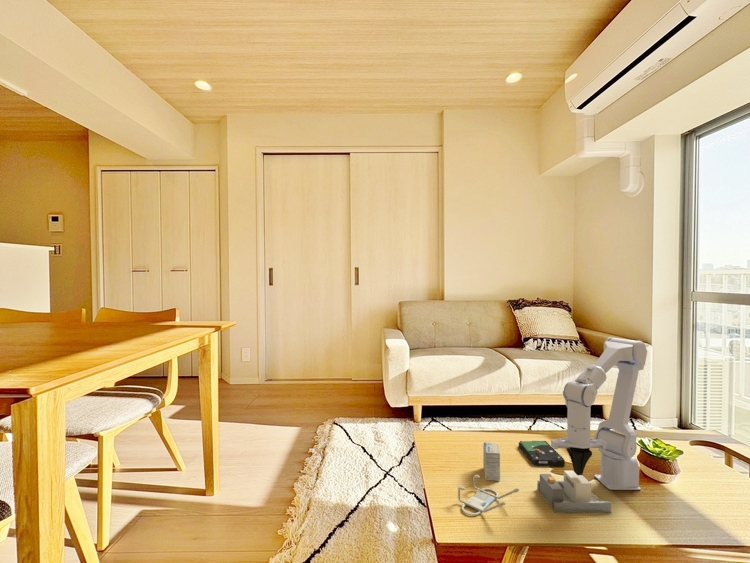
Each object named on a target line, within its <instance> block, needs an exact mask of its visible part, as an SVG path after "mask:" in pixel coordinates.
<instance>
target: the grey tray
mask: <svg viewBox="0 0 750 563" xmlns="http://www.w3.org/2000/svg"><path fill="white" fill-rule="evenodd" d="M556 481H557V482H558V483H559V485H560V486H561V487H562V488H563V484H564V480H556ZM536 484H537V486H536V488H537V489H536V490H537V491H538V492H539V493H540V495H541V496H542V497H543V499H544V500H545V501H546V503H547V504H548V505H549V507H550V509H552V510H553V513H559V514H560V513H561V514H562V513H565V514H566V513H569V514H570V513H571V514H574V513H576V514H577V513H579V514H580V513H582V514H583V513H584V514H585V513H588V514H589V513H590V514H591V513H593V514H594V513H599V514H601V513H602V514H603V513H606V514H608V513H609V514H610V513H611V514H612V502H611V501H609V500H602V501H601V500H600V498H598V496H596V495H595V494H594V492H592V491H591V501H572V500H571V499H570V498H569V497H568V496H567V494H566V493H565V492H564V497H563V501H554V507H552V506H551V505H550V504H549V503H548V501H547V500H546V499H545V497H544V496H543V495H542V493H541V492H540V480H537V483H536Z"/></svg>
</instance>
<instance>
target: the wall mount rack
mask: <svg viewBox="0 0 750 563" xmlns="http://www.w3.org/2000/svg"><path fill="white" fill-rule="evenodd" d="M480 478H481V477H480V475H479V474H474V475H473V478H472V483H473V488H474V489H476V490H477V492H476V493H474V495H472V496H471V497H470V498H469V499H468V500H466V501H465V500H464V499H461V491H465V490H466V488H465V487H464V486H459V487H458V489H457V499H458V501H459V502H460V503H462V505H461V511H462V512H463V513H464V514H466V515H468V516H472V517H476V516H479V515H480V514H481V513H488V512H490V511H492V510H494V509H496V508H500V507H503V506H506V501H501V502H499V503H498V504H495V505H493V506H491V505H492V504H493V503H494V502H495V501H496V499H497V500H502V499H503V498H505V497H507V496H509V495H512V494H515V493H517V492H519V491H520V489H519V487H517V488H514V489H512V490H511V491H508V492H507V493H504V494H502V495H500V496H499V493H498V491H497V490H494V489H493V488H489V487H485V488H484V487H483V488H479V487H477V486H476V479H480ZM488 491H491V492H493V493H494V494H492V493H491V492H488ZM466 506H467V507H468V508H471V509H473V510H476V511H477V512H468V511H466V510H465V507H466ZM490 506H491V507H490Z"/></svg>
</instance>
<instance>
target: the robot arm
mask: <svg viewBox="0 0 750 563" xmlns="http://www.w3.org/2000/svg"><path fill="white" fill-rule="evenodd" d="M647 356H648V350H647V347H646V344H645V343H644V342H643V341H642V340H633V339H626V338H621V337H620V338H618V337H614V336H609V337H608V338H606V339H605V341H604V343H603V352H602V353H601V355H600V356H599V358H597V361H596V362H595V363H594V364H593V365H592V364H590V365H588V366H586V368H584V370H583V371H582V372H581V373H580V374H579V375H578V376H577V378H576V379H574V380H570V381H568V382H567V383H566V384H565V385H564V387H563V391H562V397H563V398H564V401H565V402H564V403H565V406H566V408H567V416H566V417H567V422H566V423H567V425H566V427H567V428H566V430H567V431H566V432H567V433H566V434H567V436H566V437H561V438H556V439H550V441H551V442H550V443H551V444H550V446H551V447H552V448H553V449H554V450H558V449H566V451H567V453H568V455H569V458H570V461H571V464H572V467H573V468H572V469H573V471H574V472H575V473H576V474H577V475H583V474H584V470H585V467H586V466H587V463H588V461H589V460H590V458H591V457H592V456H593V452H592V451H591V449H598V451H599V452H600V474H594V478H595V479H597V480H598V481H599V482H600V483H601V484H602V485H603V486H605V488H606V489H608V490H609V491H613V490H615V491H632V490H633V491H639V490H641V487H640V486H639V485H640V484H639V482H640V466H639V462H638V460H637V458H636V457H635V455H636V452H637V448H638V447H637V439H638V438H637V433H636V432H635V431H634V430H633V428H632V427H630V425H629V420H630V417H631V410H632V406H633V401H634V395H635V392H636V386H637V382H638V376H639V372H640V371H642V370H644V368H645V365H646V360H647ZM614 366H616V367H617V368H618V373H617V379H616V383H615V387H614V393H613V397H612V402H611V406H610V412H609V416H608V418H607V419H606V420H603V421H600V422H599V424H598V427H597V429H596V431H595V433H594V436H593V438H592V437H591V407H592V405H593V404H594V403H595V401H596V399H597V398H596V397H597V395H598V390H599V389H600V388H601V386H602V385H603V384H604V383H605V382H606V381H607V373H608V372H609V371H610V370H611V369H612V368H613V367H614Z"/></svg>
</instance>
